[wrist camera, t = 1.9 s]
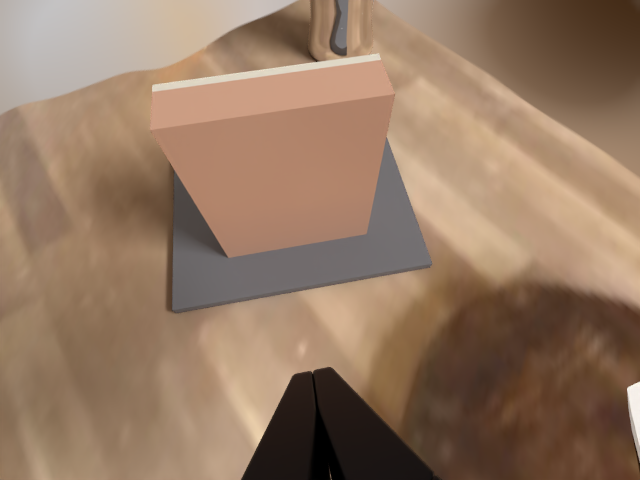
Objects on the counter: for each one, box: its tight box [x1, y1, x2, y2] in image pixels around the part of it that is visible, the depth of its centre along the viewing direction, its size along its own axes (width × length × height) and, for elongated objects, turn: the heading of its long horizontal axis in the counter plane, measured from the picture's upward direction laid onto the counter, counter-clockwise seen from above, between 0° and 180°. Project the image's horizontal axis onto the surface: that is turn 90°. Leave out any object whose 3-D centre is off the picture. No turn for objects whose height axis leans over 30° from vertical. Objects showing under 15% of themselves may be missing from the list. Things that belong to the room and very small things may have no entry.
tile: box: [150, 54, 395, 258], centre depth 18 cm, size 2×9×11 cm, turn 100°
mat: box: [172, 137, 432, 313], centre depth 25 cm, size 16×16×1 cm
